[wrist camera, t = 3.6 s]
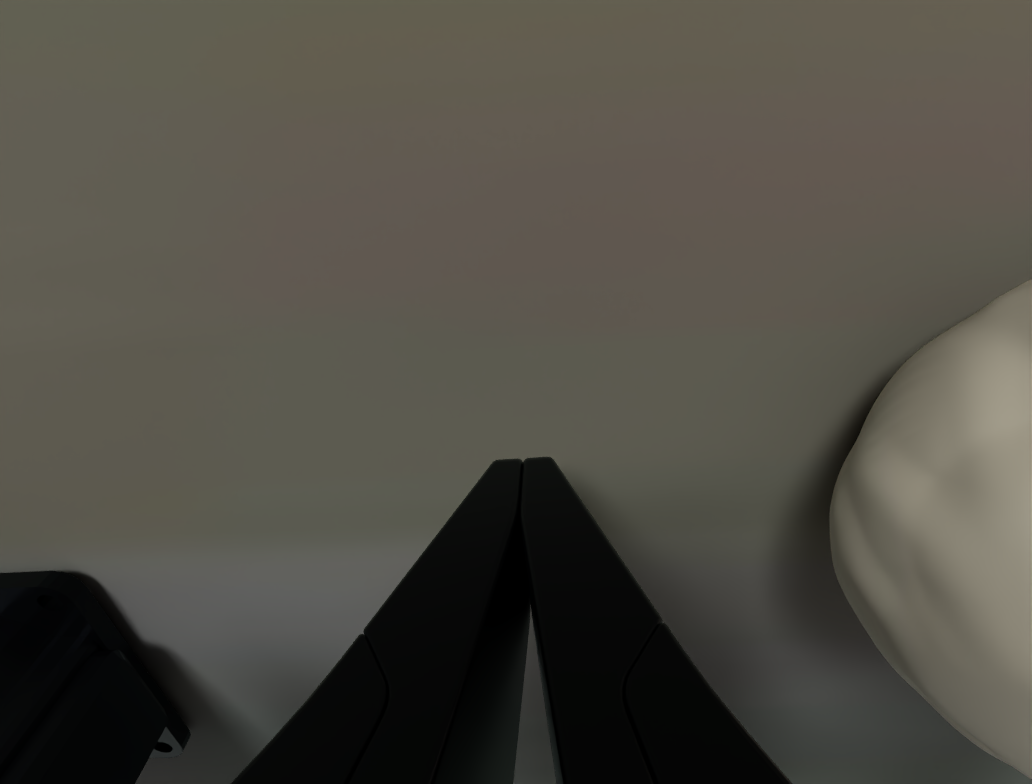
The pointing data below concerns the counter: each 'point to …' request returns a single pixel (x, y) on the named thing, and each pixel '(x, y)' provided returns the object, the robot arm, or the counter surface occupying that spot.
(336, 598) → the counter surface
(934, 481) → the garlic bulb
